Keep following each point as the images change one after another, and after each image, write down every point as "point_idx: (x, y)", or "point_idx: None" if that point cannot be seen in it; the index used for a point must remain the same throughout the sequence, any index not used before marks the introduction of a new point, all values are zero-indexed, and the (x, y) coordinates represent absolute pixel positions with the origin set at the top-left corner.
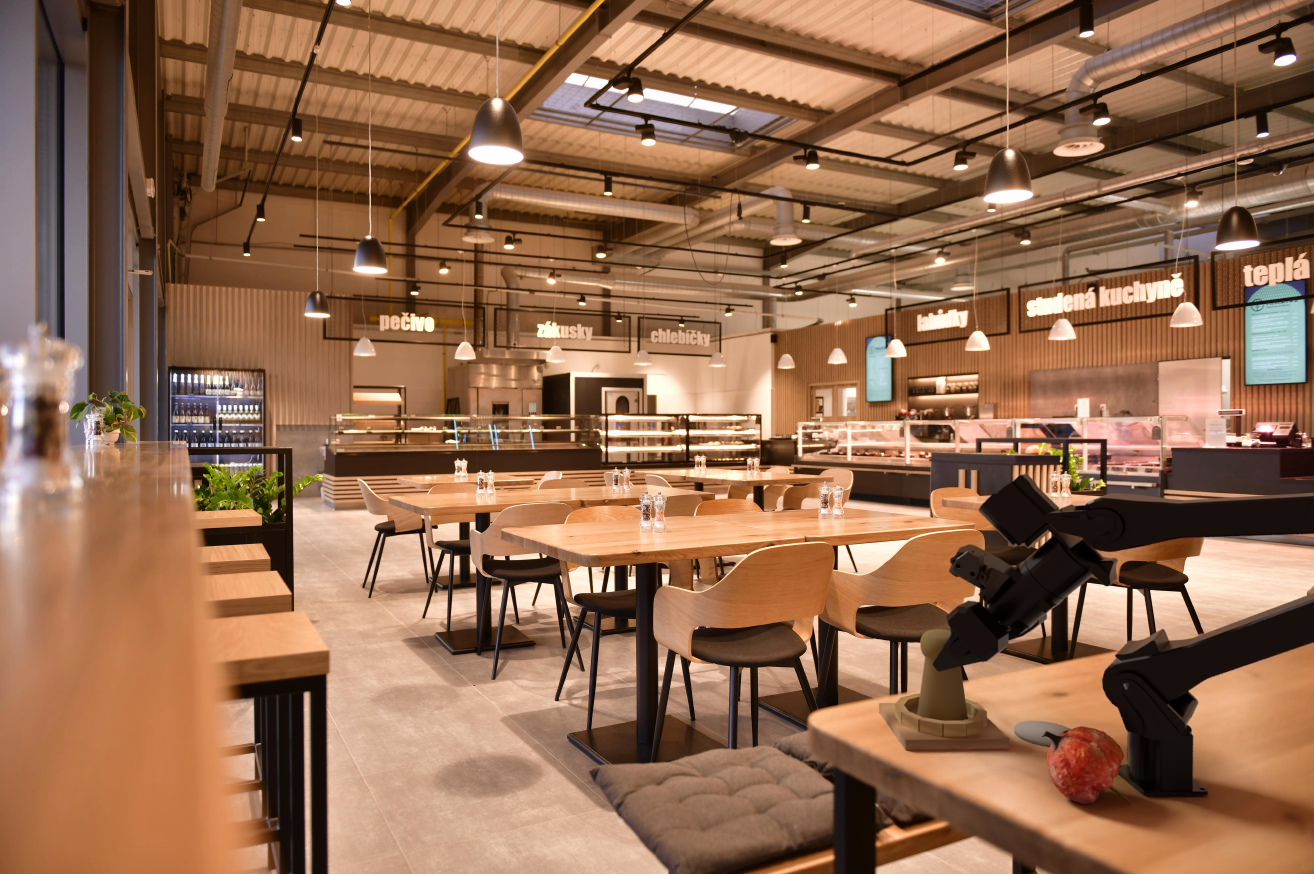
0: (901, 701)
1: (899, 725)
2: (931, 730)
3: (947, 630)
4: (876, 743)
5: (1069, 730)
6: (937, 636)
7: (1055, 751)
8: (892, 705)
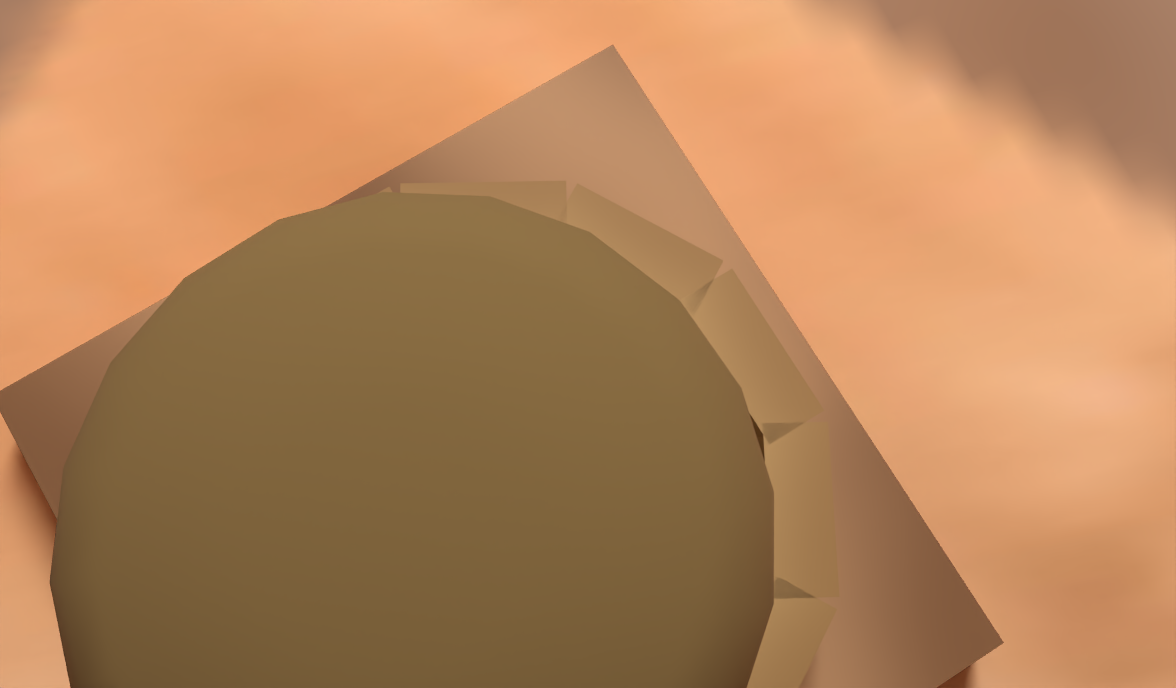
0: None
1: None
2: None
3: (525, 610)
4: (58, 213)
5: None
6: (121, 509)
7: None
8: (612, 138)
